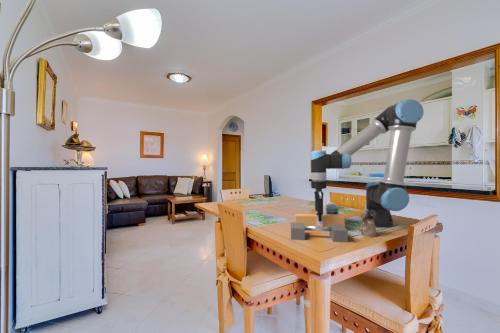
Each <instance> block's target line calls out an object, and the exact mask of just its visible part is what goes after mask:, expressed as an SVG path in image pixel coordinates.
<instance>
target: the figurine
mask: <svg viewBox="0 0 500 333" xmlns="http://www.w3.org/2000/svg"><path fill="white" fill-rule="evenodd" d="M373 212H374V210H372V211H369V210H368V209H366V208H365V210H363V211H362V213H361V215H360V220H361V223H360V228H359V232H358V233H359V235H361V236H362V237H368V238H369V237H370V238H373V237H375V236H376V235H377V228H376V227H377V226H375V223H374V219H375V217H374V215H373ZM371 216H373V219H371V218H370V217H371Z"/></svg>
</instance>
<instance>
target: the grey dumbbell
mask: <svg viewBox="0 0 500 333" xmlns="http://www.w3.org/2000/svg"><path fill="white" fill-rule="evenodd" d="M306 231H311V232H312V231H313V232H314V231H315V232H328V234H329V237H330V238H331V240H332V241H333V242H336V243H348V242H349V240H348V239H349V231H348V229H347V228H346V227H344V226H343V225H340V224H329V227H322V226H304V223H295V222H290V240H293V239H295V241H298V240H299V241H305V240H306Z"/></svg>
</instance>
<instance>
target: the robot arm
mask: <svg viewBox="0 0 500 333" xmlns="http://www.w3.org/2000/svg"><path fill="white" fill-rule="evenodd" d="M424 112H425V110H424V108H423V105H422V104H421V103H420V102H419V101H417V100H415V99H411V98H409V99H404V100H401V101H399V102H397V103H395V104H393V105H389V106H388V107H387V108H385V109H384V110H383V111H382V112H381V113H380V114H379V115H377V116H376V117H374V119H372V121H371V123H370V124H368V125H367V126H365V128H363V129H362V130H361V131H359V132H358V133H356V135H354V136H352V137H351V138H350V139H348V140H347V141H346V142H345V143H343V144H341V145H340V146H339V147H337V149H335V150H334V151H332V152H331V153H327V151H326V150H322V149H321V150H319V149H317V150H316V149H315V150H312V151H311V152H310V174H309V176H310V178H311V182H310V188H312V189H314V192H313V193H314V202H315V203H314V210H315V214H316V215H317V226H322V227H323V202H324V191H323V190H324V189H327V181H326V180H327V170H330V169H331V170H332V169H333V170H335V169H340V170H341V169H343V170H344V169H350V168H351V166H352V163H353V162H352V161H353V160H352V156H353V155H354V154H355V153H356V152H358V151H359V150H361V149H362V148H364V147H365V146H366V145H368V144H369V143H370V142H371V141H373V140H374V139H375V138H377V137H379V136H380V135H381V134H383V135H384V134H386V133H388V132H389V131H390V136H389V137H390V138H389V141H388V142H389V143H388V149H387V155H386V162H385V168H384V175H383V178H382V179H381V180H379V181H375V182H374V181H371V182H368V183H366V188H365V190H366V192H365V193H366V194H365V196H366V197H365V205H366V206H365V210H366V209H368V210H369V211H372V210H374V212H373V215H374V217H375V219H374V223H375V227H378V228H379V227H381V228H389V227H390V228H391V227H393V226H394V219H393V217H392V213H391V211H392V212H398V211H399V212H400V211H402V210H404V209H405V208H406V207H407V206H408V204H409V202H410V196H409V193H408V192H407V184H406V182H405V181H404V180H405V174H406V173H405V172H406V168H407V162H408V156H409V149H410V145H411V144H410V143H411V136H412V133H413V132H414V131H415V130H416V129H417V125H418V124H417V123H418V122H419V121H420V120H422V119H423V116H424ZM370 218H371V219H373V216H371V217H370Z"/></svg>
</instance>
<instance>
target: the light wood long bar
mask: <svg viewBox="0 0 500 333" xmlns="http://www.w3.org/2000/svg"><path fill="white" fill-rule="evenodd" d="M345 219H346V217H345V216H344V215H343V214H339V215H338V214H323V227H329V224H340V225H343V226H344V227H345V226H346V225H345V224H346V222H345ZM294 223H304V226H317V215H316V213H295V214H294ZM345 228H346V227H345Z"/></svg>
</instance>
